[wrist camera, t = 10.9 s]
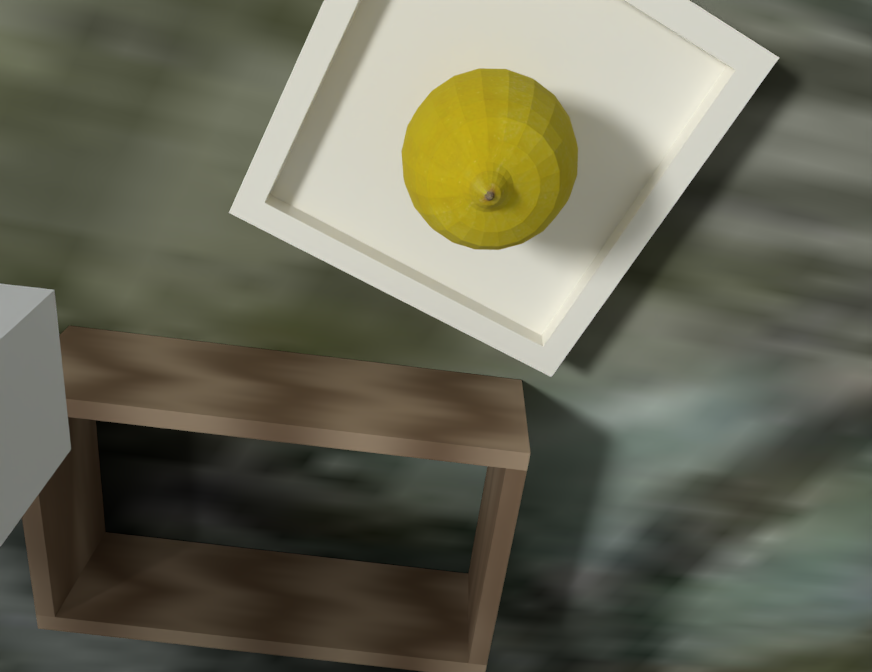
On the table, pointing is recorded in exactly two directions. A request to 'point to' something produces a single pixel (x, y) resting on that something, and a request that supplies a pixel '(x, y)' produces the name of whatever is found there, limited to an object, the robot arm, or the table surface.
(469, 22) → the plate
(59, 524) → the open wooden box frame
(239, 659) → the table surface
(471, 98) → the fruit
